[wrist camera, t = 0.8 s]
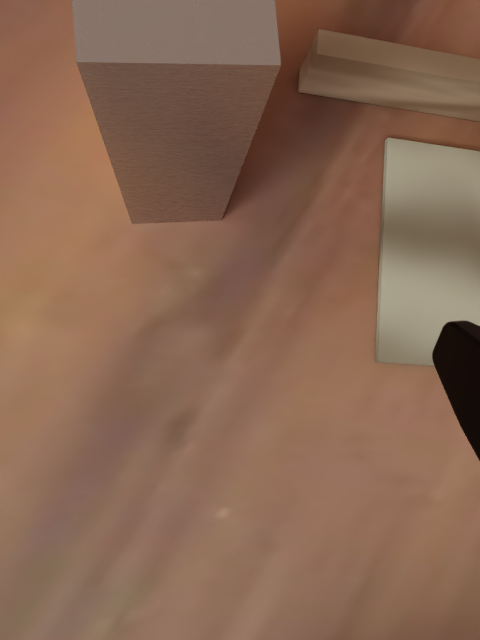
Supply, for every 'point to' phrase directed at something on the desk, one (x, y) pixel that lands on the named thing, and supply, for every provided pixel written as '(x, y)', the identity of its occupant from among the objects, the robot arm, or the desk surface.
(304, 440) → the desk surface
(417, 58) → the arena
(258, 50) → the block
